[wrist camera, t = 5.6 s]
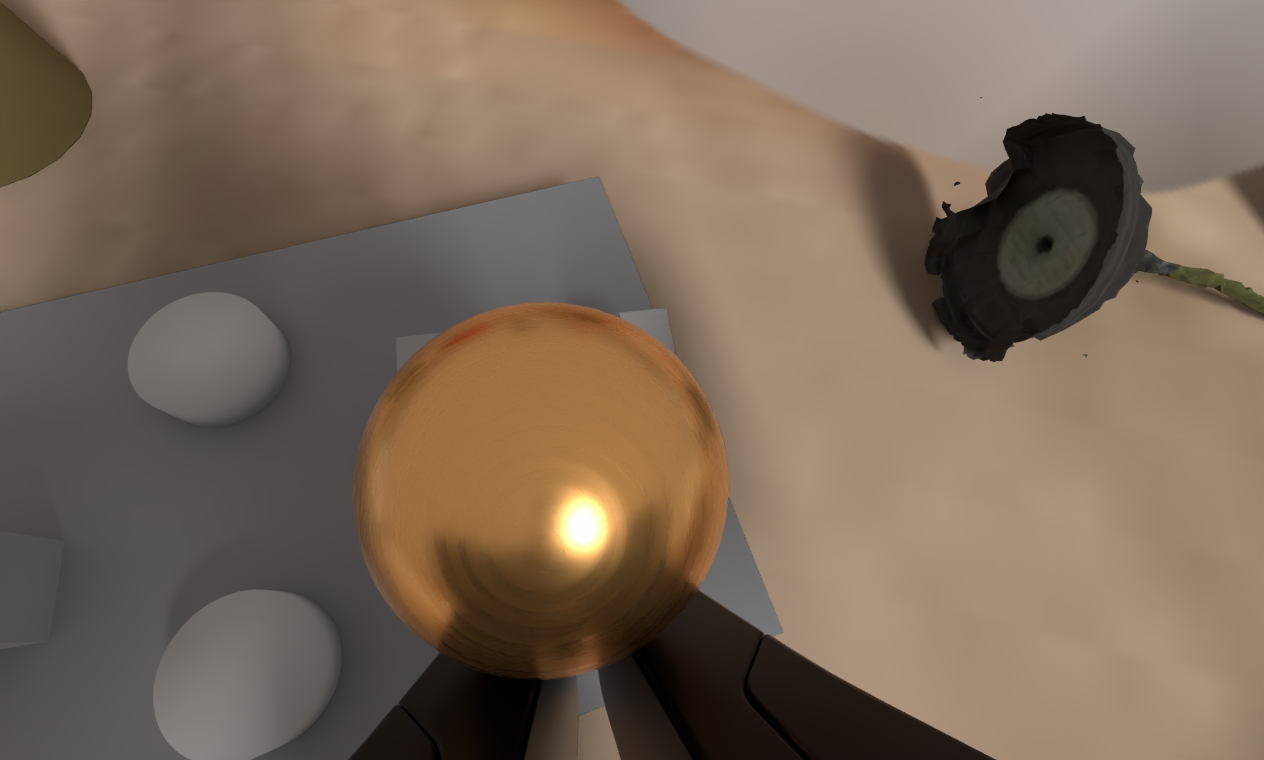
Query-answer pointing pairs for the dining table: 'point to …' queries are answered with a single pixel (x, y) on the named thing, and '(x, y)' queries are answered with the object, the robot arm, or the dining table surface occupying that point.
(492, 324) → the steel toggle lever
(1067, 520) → the dining table surface
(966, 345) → the artificial flower
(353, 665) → the switch panel
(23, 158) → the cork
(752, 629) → the robot arm
